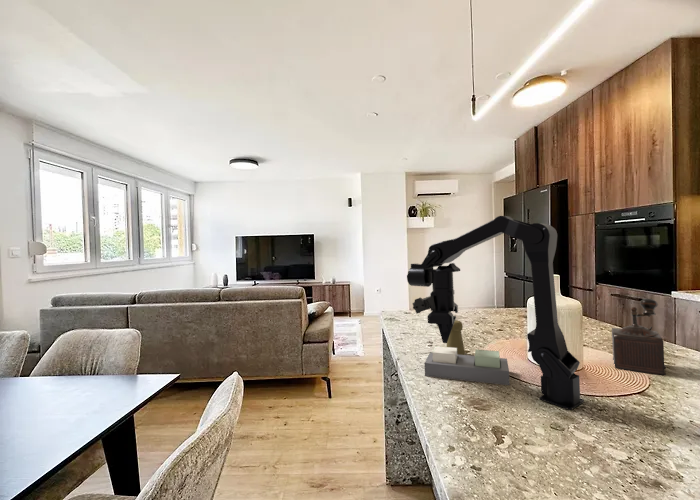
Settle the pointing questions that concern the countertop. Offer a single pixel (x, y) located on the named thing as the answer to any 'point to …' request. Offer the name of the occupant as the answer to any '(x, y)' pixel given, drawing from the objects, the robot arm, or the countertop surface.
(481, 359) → the sage key
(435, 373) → the key panel
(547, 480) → the countertop surface
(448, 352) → the cream key
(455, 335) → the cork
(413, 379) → the countertop surface
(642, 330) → the brown manual coffee grinder
